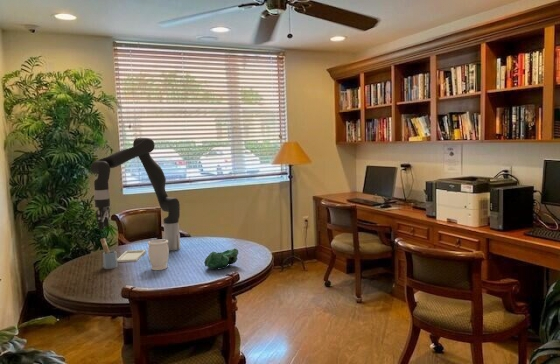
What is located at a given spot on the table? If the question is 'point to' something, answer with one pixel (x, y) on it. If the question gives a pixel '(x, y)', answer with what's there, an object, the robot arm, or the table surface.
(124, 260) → the tray
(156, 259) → the jar
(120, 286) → the table surface
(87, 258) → the table surface
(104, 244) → the pin
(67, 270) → the table surface
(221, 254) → the mineral
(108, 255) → the cup
